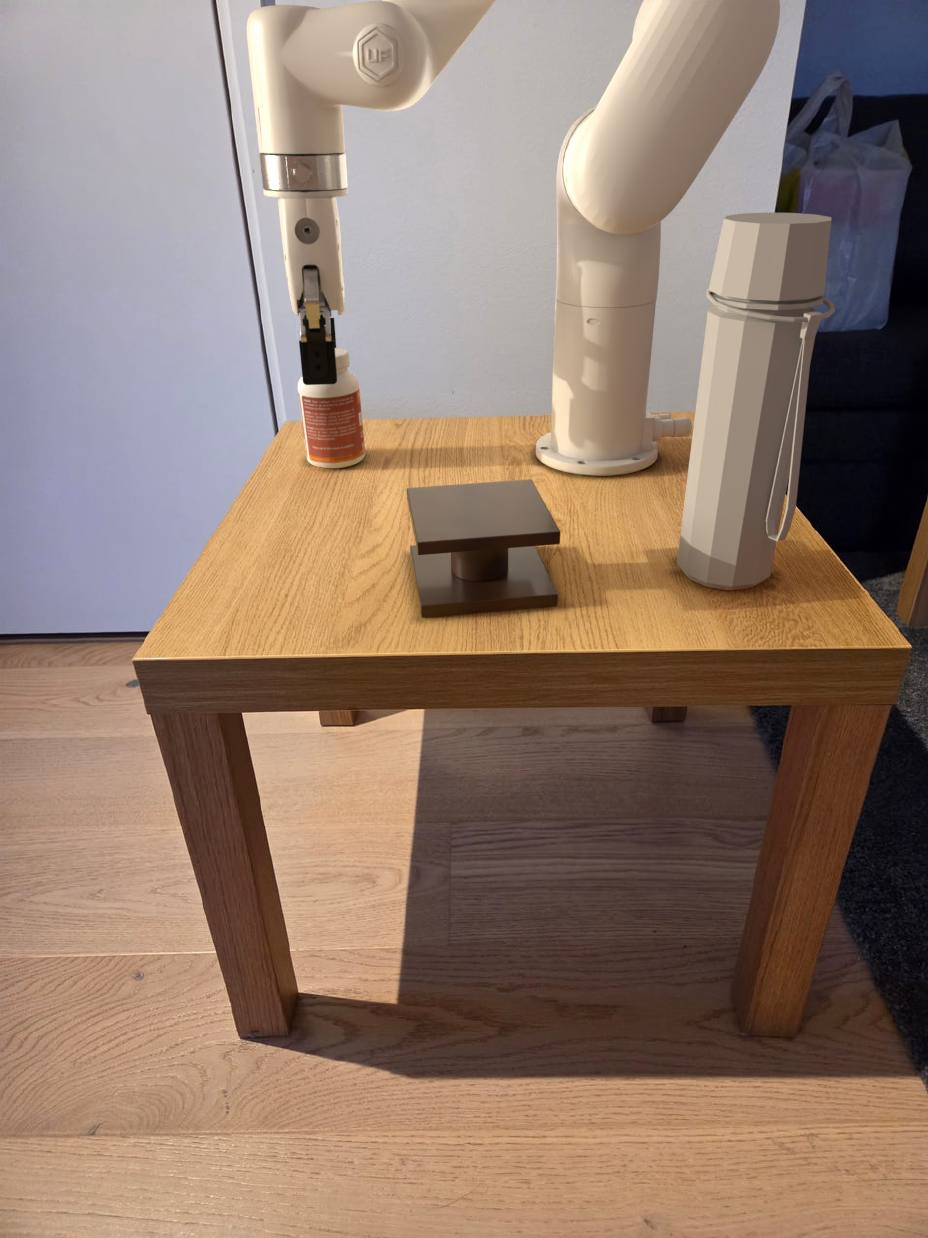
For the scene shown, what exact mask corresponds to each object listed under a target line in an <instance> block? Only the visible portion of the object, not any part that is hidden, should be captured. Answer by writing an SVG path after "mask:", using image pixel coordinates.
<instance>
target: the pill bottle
mask: <svg viewBox="0 0 928 1238" xmlns="http://www.w3.org/2000/svg"><path fill="white" fill-rule="evenodd" d="M335 358H336V371H337V382H336V383H335V384H323V385H305V384H304V383H303V378H302V376H301V377H300V378H299V380H298V382H297V396H298V402H299V411H300V419H301V427H302V435H303V440H304V449H305V450H304V451H305V456H306V460H307V462H308V463H309V464H311V466H315V467H318V468H323V469H343V468H348V467H351V466H354V465H356V464H358V463H360V462H361V461H362V460H363V459H364V458H365V456H366V446H365V436H364V435H365V434H364V425H363V424H364V423H363V413H362V403H361V392H360V382H359V380H358V379H359V378H358V377H357V376H356V375H355V374H354V373H352V372H351V371H349V369H348V368H350V364H351V361H350V353H349V350H347V349H345V348H340V347H336V348H335Z"/></svg>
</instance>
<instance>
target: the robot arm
mask: <svg viewBox="0 0 928 1238" xmlns="http://www.w3.org/2000/svg"><path fill="white" fill-rule="evenodd" d="M497 1H498V0H369V1H362V2H357V3H351V4H346V5H340V6H333V7H325V8H320V7H315V6H309V5H298V4H275V5H273V4H272V5H266V6H265V5H264V6H260V7H258V8H256V9H255V8H254V9H253V10H252V11H251V12H250V13H249V16H248V18H247V20H246V26H245V27H246V43H247V52H248V60H249V61H248V62H249V70H250V81H251V88H252V99H253V108H254V116H255V125H256V126H255V127H256V136H257V144H258V145H257V146H258V152H259V164H260V172H261V174H260V175H261V183H262V192H263V197H267V198H276V199H277V205H278V206H277V207H278V215H279V226H280V227H279V228H280V235H281V244H282V245H281V246H282V253H283V259H284V267H285V275H286V283H287V288H288V294H289V300H290V305H291V310H292V313H294V315H296V316H298V317H299V331H300V339H299V340H298V347H299V356H300V365H301V367H300V368H301V375H302V376H301V377H302V378H303V383H304V384H305V385H323V384H335V383H336V382H337V371H336V358H335V348H337V338H336V325H335V317H333V315H332V311H337V314H338V316H342V315H343V314H344V313H345V311H346V300H345V299H346V298H345V280H344V279H345V278H344V261H343V251H342V235H341V223H340V215H339V214H340V213H339V208H338V201H337V198H341V197H344V196H345V197H346V196H348V195H349V189H348V187H349V186H348V185H349V184H348V172H347V170H348V169H347V156H346V140H345V139H346V138H345V125H344V106H347V107H354V108H360V109H366V110H372V111H378V112H397V111H402V110H405V109H408V108H411V107H412V106H414V105H415V104H416V103H418V102H419V101H420V100H421V99H422V98H423V97H424V96H425V94H426V93H427V92H428V91H429V89H430V88H431V87H432V86H433V84H434V83H435V82H436V80H437V79H438V78H439V76H440V75H441V74H442V73H443V71H444V70H445V69H446V67H447V66H448V65H449V64H450V62H451V61H452V60H453V58H454V57H455V55H456V54H457V53H458V51H459V50H460V49H461V48H462V47H463V45H464V44H465V42H466V41H467V40H468V39H469V37H470V36H471V35H472V34H473V32H474V31H475V29H476V28H477V27H478V26H479V24H480V23H481V21H482V20H483V19H484V18H485V17H486V15H487V14H488V12H489V11H490V10H491V8H492V7H493V6H494V4H495V3H496V2H497ZM780 16H781V2H780V0H642V2H641V4H640V7H639V10H638V12H637V15H636V17H635V21H634V25H633V31H632V36H631V37H632V38H631V39H632V40H631V43H630V45H629V47H628V48H627V50H626V52H625V54H624V56H623V58H622V60H621V61H620V63H619V65H618V67H617V69H616V71H615V72H614V74H613V76H612V78H611V80H610V82H609V83H608V85H607V87H606V89H605V91H604V93H603V94H602V96H601V97H600V100H599V102H598V103H597V104H596V105H594V106H592V107H590V108H588V109H587V110H586V111H585V112H583V113H582V114H581V115H580V116H578V118H577V119H576V120H575V121H574V123H573V124H572V125H571V126H570V128H569V129H568V131H567V133H566V135H565V137H564V139H563V142H562V144H561V147H560V150H559V155H558V159H557V166H556V181H555V182H556V184H555V185H556V186H555V187H556V188H555V189H556V190H555V191H556V193H555V195H556V196H555V197H556V274H555V298H554V322H553V323H554V324H553V325H554V327H553V357H552V360H553V361H552V387H551V395H552V396H551V418H550V419H551V420H550V431H549V432H547V433H545V434H543V435H541V436H540V437H539V438H538V440H536V443H535V456H536V458H537V459H538V460H539V461H540V463H542V464H544V465H545V466H547V467H549V468H551V469H553V470H554V469H555V470H557V471H561V472H564V473H569V474H574V475H582V476H593V477H594V476H596V477H602V476H603V477H604V476H618V475H626V474H631V473H636V472H639V471H643V470H644V469H646V468H649V467H651V465H653V464H654V463H655V462H656V461H657V460H658V454H659V446H658V444H657V442H659V441H661V440H662V438H667V437H669V438H670V437H671V438H682V437H683V438H684V437H690V436H691V435H692V434H691V433H692V431H693V424H692V419H691V418H690V417H673V418H672V416H671V413H657V414H652V413H651V412H650V411H649V410H648V409H647V406H648V393H649V381H650V371H651V370H650V369H651V361H652V348H653V339H654V327H655V316H656V304H657V299H658V290H659V278H660V264H661V244H662V243H661V240H662V221H663V220H664V219H666V217H667V216H669V215H670V214H671V213H672V211H673V210H674V209H675V208H676V207H677V206H678V205H679V203H680V202H681V200H682V199H683V198H684V197H685V195H686V194H687V192H688V191H689V189H690V187H691V186H692V184H693V183H694V181H696V178H697V177H698V176H699V174H700V172H701V171H702V169H703V167H704V166H705V165H706V163H707V161H708V160H709V158H710V156H711V155H712V153H713V152H714V150H715V149H716V147H717V145H718V144H719V142H720V141H721V139H722V138H723V135H724V134H725V132H726V131H727V129H728V128H729V126H730V125H731V123H732V121H733V120H734V118H735V117H736V115H737V113H738V112H739V110H740V108H741V107H742V105H743V104H744V103H745V101H746V99H747V97H748V95H749V94H750V92H751V91H752V89H753V88H754V87H755V85H756V83H757V81H758V79H759V77H760V75H761V74H762V73H763V70H764V68H765V66H766V65H767V61H768V60H769V57H770V55H771V52H772V50H773V47H774V44H775V42H776V37H777V34H778V30H779V25H780V19H781V18H780Z"/></svg>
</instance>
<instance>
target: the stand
mask: <svg viewBox="0 0 928 1238" xmlns="http://www.w3.org/2000/svg"><path fill="white" fill-rule="evenodd" d="M406 501H407V507H408V512H409V516H410V521H411V527H412V532H413V538H414V543H415V544H414V545H410V546H409V548H410V549H409V552H410V560H411V567H412V572H413V577H414V583H415V589H416V595H417V600H418V606H419V612H420V617H421V618H422V619H423V618H433V617H434V618H435V617H445V616H455V615H469V614H479V613H491V612H492V613H493V612H502V611H511V610H512V611H514V610H515V611H516V610H526V609H527V610H528V609H536V608H537V609H538V608H548V607H550V608H551V607H557V606H558V604H559V603H558V602H559V599H558V598H559V594H558V592H557V590H556V588H555V585H554V584H553V581H552V579H551V577H550V575H549V572H548V570H547V569H546V566H545V564H544V562H543V560H542V558H541V556H540V554H539V551H538V549H537V547H538V546H539V547H541V546H552V545H553V546H554V545H560V544H561V530H560V529H559V527H558V525H557V523H556V521H555V520H554V519H555V518H554V517H553V516H552V514H551V512H550V510H549V508H548V506H547V505H546V503H545V501H544V499H543V497H542V495H541V494H540V492H539V490H538V488H537V486H536V484H535V483H534V481H533V479H531V478H530V479H529V478H528V479H516V480H502V481H489V482H475V483H459V484H446V485H445V484H444V485H432V486H431V485H430V486H417V487H416V486H415V487H407V488H406Z"/></svg>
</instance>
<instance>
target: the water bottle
mask: <svg viewBox="0 0 928 1238" xmlns="http://www.w3.org/2000/svg"><path fill="white" fill-rule="evenodd" d="M831 227H832V217H831V216H827V215H821V214H815V213H801V212H800V213H799V212H748V213H735V214H729V215H725V216H724V217H723V221H722V226H721V230H720V233H719V234H720V235H719V240H718V244H717V249H716V253H715V258H714V262H713V267H712V273H711V277H710V281H709V287H708V288H707V289H706V292H705V293H706V299H707V300H708V301H709V302H710V303H711V304H712V305H710V306H709V308H708V310H707V312H706V313H707V314H706V320H705V321H706V322H705V329H704V330H705V331H704V337H703V338H704V339H703V347H702V354H701V355H702V356H701V361H700V363H701V364H700V371H699V380H698V388H697V395H696V404H695V411H694V420H693V421H694V422H693V426H692V434H691V435H692V437H691V444H690V451H689V452H690V453H689V461H688V470H687V477H686V485H685V493H684V494H685V495H684V501H683V510H682V518H681V527H680V534H679V541H678V542H679V543H678V550H677V557H676V564H677V565H678V567H679V568H680V570H681V571H682V572H683V573H684V574H685V576H686V577H687V578H688V580H690V581H693V582H695V583H697V584H699V585H702V586H704V587H707V588H712V589H718V590H726V591H735V590H744V589H752V588H754V587H756V586H757V585H759V584H761V583H762V582H764V581H766V580H767V579H768V578H770V577H771V575H772V568H773V563H774V557H775V553H776V547H777V542H783V541H785V540H786V539H787V537H788V534H789V532H790V531H791V527H792V523H793V519H794V516H795V512H796V507H797V500H798V499H797V498H798V489H799V479H800V469H801V468H800V467H801V458H802V449H803V440H804V439H803V437H804V428H805V419H806V408H807V400H808V399H807V398H808V389H809V379H810V368H811V362H812V356H813V351H814V346H815V340H816V336H817V333H818V329H819V327H820V324H821V322H822V320H825V319H829V318H830V317H831V316H832V315H833V314H834V313H835V312H836V308H835V305H834V303H833V301H831V300H830V299H828V298H827V297H825V291H826V283H827V282H826V280H827V270H828V262H829V261H828V260H829V250H830V238H831ZM821 305H825V306H826V307H827V309H828V310H827V311H825V312H824V313H822V312H820V311H819V310H817V309H815V308H814V307H817V306H821ZM786 494H787V496H786ZM785 499H786V505H785V511H784V516H783V518H782V515H783V509H784V503H785ZM781 520H782V522H781ZM780 526H781V527H780Z"/></svg>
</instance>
